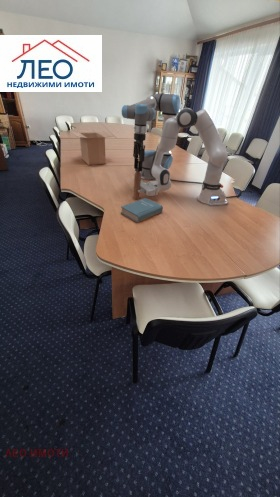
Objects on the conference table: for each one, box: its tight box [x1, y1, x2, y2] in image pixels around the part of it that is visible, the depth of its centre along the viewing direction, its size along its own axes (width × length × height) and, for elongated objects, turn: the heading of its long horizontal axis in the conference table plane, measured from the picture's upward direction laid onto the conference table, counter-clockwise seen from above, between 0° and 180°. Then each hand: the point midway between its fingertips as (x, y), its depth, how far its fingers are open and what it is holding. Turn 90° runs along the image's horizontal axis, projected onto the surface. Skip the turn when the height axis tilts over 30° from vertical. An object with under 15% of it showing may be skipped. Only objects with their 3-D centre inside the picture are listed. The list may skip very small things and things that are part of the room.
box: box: [70, 129, 114, 166], centre depth 229 cm, size 44×36×27 cm
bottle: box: [132, 171, 142, 200], centre depth 160 cm, size 5×5×22 cm
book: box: [120, 197, 164, 223], centre depth 146 cm, size 23×16×5 cm
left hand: (137, 169), depth 154 cm, fingers open, 6 cm apart
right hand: (135, 189), depth 162 cm, fingers closed on bottle, 5 cm apart
